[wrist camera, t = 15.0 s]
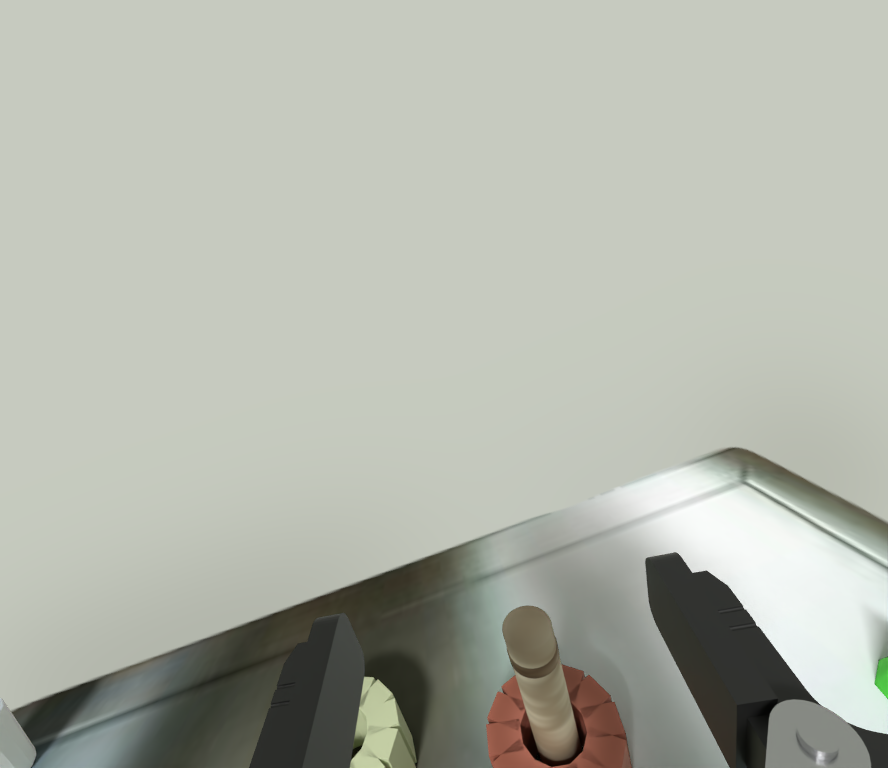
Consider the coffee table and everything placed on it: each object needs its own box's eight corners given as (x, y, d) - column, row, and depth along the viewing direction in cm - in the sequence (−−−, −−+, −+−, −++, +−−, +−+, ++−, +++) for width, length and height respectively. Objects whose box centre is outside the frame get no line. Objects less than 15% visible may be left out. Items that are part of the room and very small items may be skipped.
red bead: (511, 867, 28) (495, 824, 27) (495, 715, 37) (482, 675, 35) (656, 846, 28) (649, 800, 26) (605, 696, 36) (597, 653, 35)
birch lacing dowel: (550, 802, 31) (505, 655, 26) (540, 752, 34) (498, 610, 29) (594, 795, 31) (558, 645, 25) (581, 745, 34) (546, 600, 28)
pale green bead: (301, 879, 31) (273, 840, 29) (305, 741, 39) (284, 705, 37) (426, 815, 32) (407, 774, 30) (404, 696, 41) (388, 658, 39)
